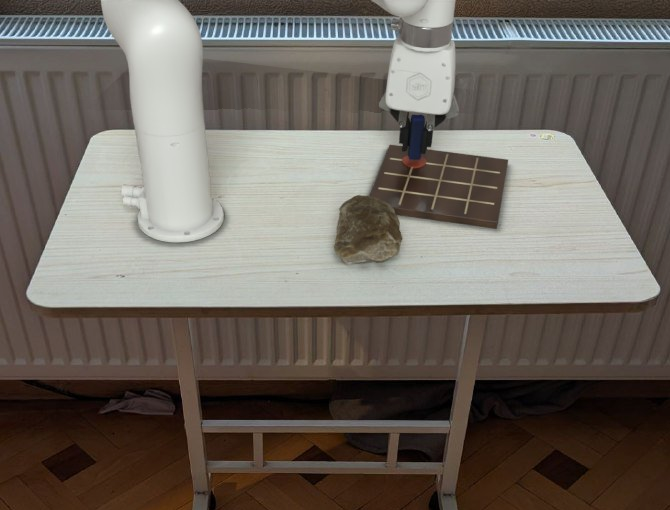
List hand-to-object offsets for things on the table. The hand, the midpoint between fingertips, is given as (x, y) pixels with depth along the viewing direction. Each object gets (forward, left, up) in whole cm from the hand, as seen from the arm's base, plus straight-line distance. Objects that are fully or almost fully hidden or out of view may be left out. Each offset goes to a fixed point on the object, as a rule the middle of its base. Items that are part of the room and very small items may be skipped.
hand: (415, 148), depth 134 cm
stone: (-3, -25, -4) cm, 25 cm away
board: (+5, -5, -4) cm, 8 cm away
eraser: (0, 0, -2) cm, 2 cm away
